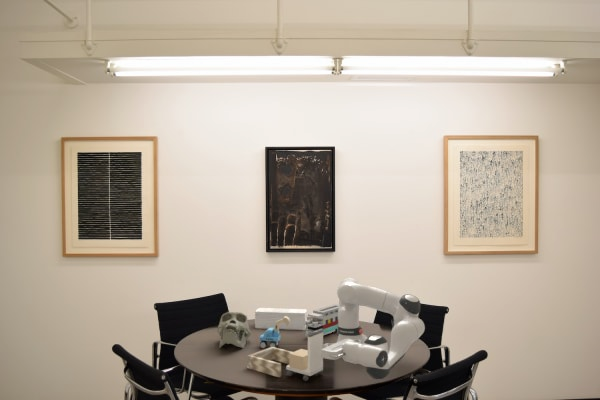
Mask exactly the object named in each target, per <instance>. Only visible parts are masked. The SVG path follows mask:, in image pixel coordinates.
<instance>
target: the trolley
mask: <svg viewBox="0 0 600 400" xmlns="http://www.w3.org/2000/svg"><path fill="white" fill-rule="evenodd" d="M323 331H324V330H323V329H319V330H316V331H314V332H311V333H308V334H307V336H308V337H307V336H306V337H307V349H303V348H299V349H297V350H295V351H291V352H292V353H290V354H289V364H287V365H286V367H285V370H286V376H287V377H291V376H293V375H292V374H293V373H292V372H294V373H298V374H301V375H303V376H302V380H303V381H304V382H307V381H309V377H311V376H313V375H315V374H318V375H321V374H322V373H323V371H324V358H322V357H321V349H323V344H324V336H323Z"/></svg>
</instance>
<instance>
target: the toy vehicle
mask: <svg viewBox="0 0 600 400" xmlns="http://www.w3.org/2000/svg"><path fill="white" fill-rule="evenodd" d="M338 309H339V304H336V303H333V304H331V305H327V306H325V307H321V308H320V307H319V308H318V309H315V310H312V312H311V313H307V317H309V318H310V319H307V321H305V326H307V328H306V329H305V330H304V331H305V332H304V336H305V337H307V338H308V336H307V334H308V333H311V332H314V331H316V330H319V329H323V330H324V331H323V337H324V336H325V335H328V334H331V333H332V332H333V334H337V327H338Z"/></svg>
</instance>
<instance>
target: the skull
mask: <svg viewBox="0 0 600 400" xmlns="http://www.w3.org/2000/svg"><path fill="white" fill-rule="evenodd" d="M217 333H218V335H219V337H220V339H219V340H220V341H219V349H222V347H223V346H224V345H225V344H227V345H229V344H231V345H233V346H235V347H238V348H241V349H244V348H245V347H246V343H247V340H248V339H249V337H250V336H251V334H252V332H251V330H250V324H249V322H248V315H247V314H244V313H242V312H239V311H235V312H233V311H226V312H225V313H223V314H222V315H221V317H220V319H219V324H218V326H217Z"/></svg>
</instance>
